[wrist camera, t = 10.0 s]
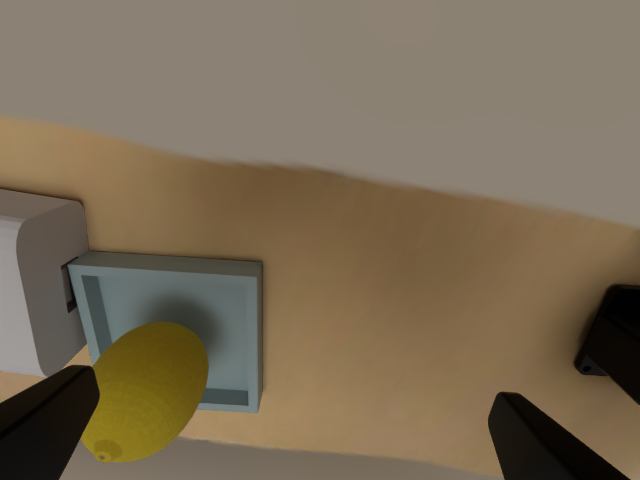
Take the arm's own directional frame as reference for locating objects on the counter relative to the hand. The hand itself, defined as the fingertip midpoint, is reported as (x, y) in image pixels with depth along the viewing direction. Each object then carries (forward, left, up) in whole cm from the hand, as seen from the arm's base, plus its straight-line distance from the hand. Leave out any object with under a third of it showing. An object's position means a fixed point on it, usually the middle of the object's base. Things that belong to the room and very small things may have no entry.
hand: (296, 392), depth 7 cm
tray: (+8, +8, -12) cm, 16 cm away
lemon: (+8, +8, -12) cm, 16 cm away
